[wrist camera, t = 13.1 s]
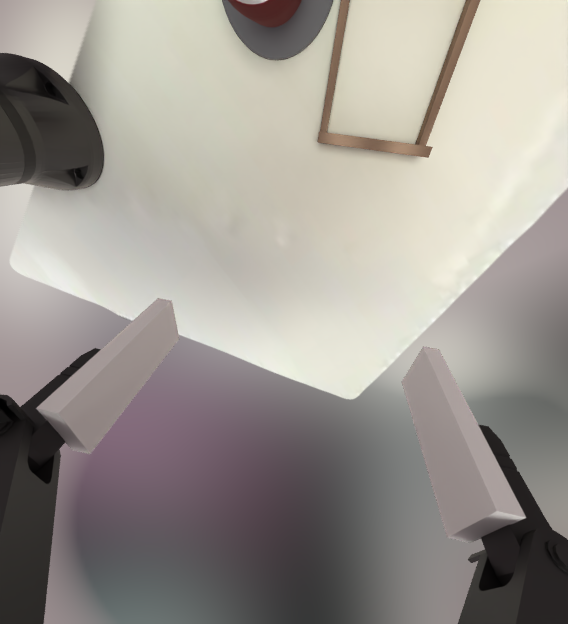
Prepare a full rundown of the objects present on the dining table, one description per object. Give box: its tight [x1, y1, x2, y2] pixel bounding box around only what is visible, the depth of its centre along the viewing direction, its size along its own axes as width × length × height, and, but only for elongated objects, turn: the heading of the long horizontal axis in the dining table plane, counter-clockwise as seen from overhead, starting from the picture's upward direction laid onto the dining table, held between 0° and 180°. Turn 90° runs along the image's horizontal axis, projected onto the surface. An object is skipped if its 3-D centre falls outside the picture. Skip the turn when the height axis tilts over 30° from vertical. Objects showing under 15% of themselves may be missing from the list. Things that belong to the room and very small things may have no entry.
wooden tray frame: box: [318, 0, 480, 157], centre depth 25 cm, size 13×16×4 cm
